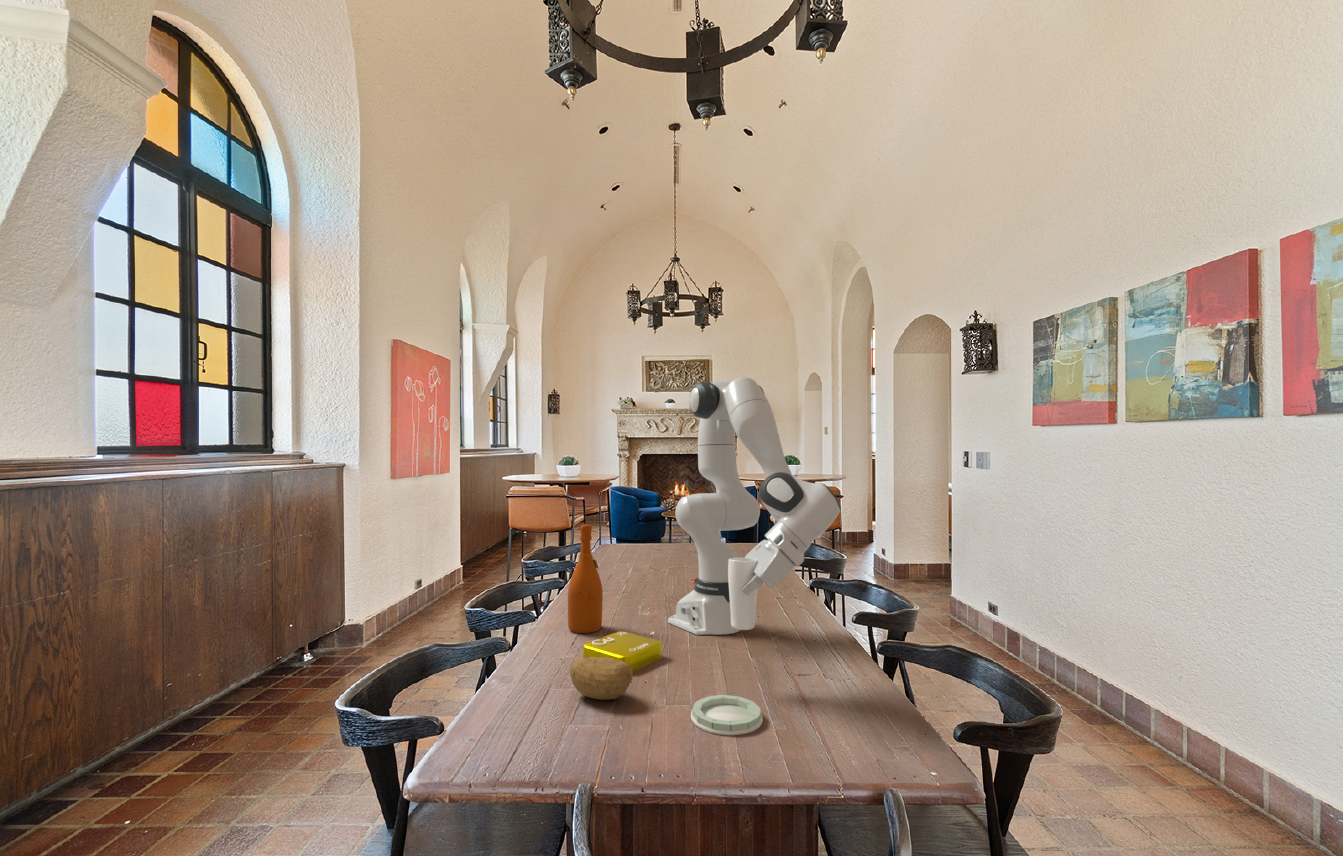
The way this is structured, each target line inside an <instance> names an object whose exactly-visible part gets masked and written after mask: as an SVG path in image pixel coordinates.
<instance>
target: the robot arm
mask: <svg viewBox="0 0 1343 856" xmlns="http://www.w3.org/2000/svg"><path fill="white" fill-rule="evenodd" d="M689 392H690V393H689V408H690V411H691V413H692V414H693V416H695V417H696V418H699V424H698V432H697V464H698V465H697V466H698V467H697V468H698V471H699V474H700V475H701V476H702V477H703V478H705V479H706V480H708V481H710V482H711V483H712V484H713V485H714V487H715V490H716V492H709V493H708V492H707V493H695V494H694V493H693V494H688V495H686V496H682V497H681V498H680V499H679V500H678V502H677V504H676V505H675V506H676V507H675V514H674V515H675V519H676V522H677V524H678V525H679V527H680V528H681V529H682V530H684V532H686V533H687V534H688V535H689V536H690V537H691V539H692V541H693V542H694V544H695V547H696V552H697V559H698V561H697V563H698V577H696V578H694V579H692V580H691V581H692V582H691V585H693V584H694V587H693V590H691V591H690V592H688V593H687V594H686V595H685V596H683V597H682V598H680V599H679V601H678V602H677V604H676V608H675V614H673V615H671V616H670V617H668V618H667V619H668V620H667V623H668V624H671V625H673V626H676V627H678V628H680V629H682V630H685V631H687V632H690V633H692V634H694V635H697V636H698V635H701V636H703V635H720V636H721V635H730V634H735V633H738V632H741V630H739V629H735V628H733V627H732V626H731V612H730V597H729V584H728V561H729V559H730V558H738V557H737V556H738V555H737V553H736V552H737V551H735V549H734V548H733V547H732V546H731V545H730V544H727V543H725V542H724V541H722V540H721V535H720V532H722V531H739V530H740V531H741V530H744V529H748V528H751V527H754V526H755V525H756V524H757V523H758V521H759V518H760V514H761V507H760V505H759V502H758V500H757V498H756V497H755V496H754V495H753V494H751V493H750V492H749V491H748V490H747V489H746V487H745V485H743V483H742V481H741V479H740V476H739V473H738V468H737V467H738V466H737V455H736V453H737V452H736V435H737V437H738V439H739V440H740V442H741V443H742V444H743V445H744V447H745V448H746V449H747V450H748V451H749V453H750V454H751V455H752V457H753V458H754V459H755V460H756V462H757V463H758V464H759V466H760V467H761V469H762V471H763V472H764V475H765V479H763V481H762V482H761V484H760V487H759V492H758V493H759V498H760V502H761V503H762V504H763V506H764V507H765V508H766V511H768V512H769V514H770V515H771V516H772V518H773V519H774V521H775V522H776V523H775V524H774V525H773V526H772V527H771V528H770V529H769V530H768V531H767V532H766V533H765V534H764V537H765V538H766V539H763V540H761V541H760V542H759V543H758V544H756V545H755V546H754V547H753V548H752V549H751V550H750V551H749V552H748V553H747V554H745V556H744V557H743V558H754V559H757V560H758V562H757V564H756V565H755V567H754V569H753V572H754V573H755V574H756V575H755V576H754V577H753V578H752V580H751V581H749V582H748V583H747V584H745V585H744V586H743V587H742V588H741V590H742V592H743V593H744V594H745V595H749V594H750V593H751V592H752V591H753V590H755V589H757V588H760V587H761V586H762V585H764V586H766V587H767V588H769V589H771V588H773V587H774V586H776V585H777V584H779V583H780V582H781V581H782V580H783V579H784V578H786V576H788V575H789V574H790V573H791V572H792V571H793V569H794V568H795V566H796V567H799V566H801V565H802V564H803V563H804V561H805V556H804V555H805V552H806V551H807V550H809V548H810V546H811V545H812V543H813V541H815V540H816V539H817V538H819V537H821V536H822V535H823V534H824V533H825V532H826V531H827V530H828V529H829V528H830V526H831V525H832V524H833V523H834V522H835V520H836V519H837V517H838V516H839V515H840V513H841V510H842V508H841V507H842V506H841V504H840V501H839V499H838V497H837V496H836V495H835V493H834V492H833V491H832V490H831V489H830V488H829V487H828V486H827V484H825V483H823V482H810V481H807V480H803V479H800V478H797V477H795V476H793V474H792V471H791V470H790V467H789V465H788V462H787V460H786V458H785V455H784V451H783V446H782V443H781V440H780V434H779V432H778V426H777V421H776V420H775V419H776V418H775V415H774V411H773V409H772V407H771V405H770V403H769V400H768V398H767V395H766V394H765V392H764V389H763V388H762V386H760V385H759V384H758V382H756V381H755V380H754V379H753V378H750V377H746V376H745V377H744V376H742V377H738V378H735V379H733V380H726V381H725V380H724V381H720V380H719V381H707V380H705V381H701V382H697V383H696V384H694V385H693V387H692V388H691V390H690V391H689ZM735 434H736V435H735ZM753 561H756V560H753ZM757 590H758V589H757Z"/></svg>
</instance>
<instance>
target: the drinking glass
mask: <svg viewBox="0 0 1343 856" xmlns="http://www.w3.org/2000/svg"><path fill="white" fill-rule="evenodd" d="M753 560H756V561H753ZM757 562H758V560H757V559H754V558H744V557H737V558H730V559H729V561H728V584H729V597H730V612H731V626H732V627H733V628H735V629H739V630H740V631H747V630H748V631H749V630H752V629H754V628H756V627H755V626H756V610H757V597H758V588H759V587H758V588H757V589H755V590H753V591H752V592H751V593H750V594H749V595H745V594H744V593H743V592H742V590H741V588H742V587H743V586H744V585H745V584H747V583H748V582H749V581H751V580H752V578H753V577H754V576H755V575H756V574H755V573H754V572H753V569H754V567H755V565H756V564H757Z"/></svg>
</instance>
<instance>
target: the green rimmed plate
mask: <svg viewBox="0 0 1343 856" xmlns="http://www.w3.org/2000/svg"><path fill="white" fill-rule="evenodd" d="M763 718H764V715H763V714H762V709H761V707H760V706H758V704H757V703H755V702H754V701H753V700H751V699H747V698H745V697H742V696H739V695H738V696H737V695H731V694H730V695H728V694H717V695H710V696H705V697H702V698H701V699H699V700H696V701H695V702H694V703H693V706H692V709H691V710H690V720H691V722H692V724H693V725H694V726H695V727H696V728H698V729H700V730H702V731H703V732H706V733H710V734H713V735H719V736H728V737H729V736H731V737H732V736H742V735H747V734H750V733H753V732H756V731H757V730H758V729H760V728H761V726H762V725H763Z"/></svg>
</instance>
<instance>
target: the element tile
mask: <svg viewBox="0 0 1343 856" xmlns="http://www.w3.org/2000/svg"><path fill="white" fill-rule="evenodd" d="M662 645H663V644H662V641H661V640H658V639H655V638H650V637H648V636H643V635H640V634H635V633H631V632H628V631H623V630H619V631H616V632H613V633H610V634H607V635H605V636H602V637H600V638H597V639H594V640H591V641H588V642H586V643H584V644H583V645H582V646H583V647H582V649H583V650H582V658H586V657H595V658H598V657H607V658H610V659H613V660H618V661H622V662H624V663H626V664H628V665H629V666H630V667H631V668H632V672H633V673H634V672H635V671H638V670H640V669H642V668H644V667H646V665H647V666H649V665H651V664H653V663H655V662H658V661H660V660H661V659H662V657H663V655H662V653H663V649H662V647H663V646H662ZM657 660H658V661H657ZM648 664H649V665H648ZM637 669H638V670H637Z"/></svg>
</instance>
